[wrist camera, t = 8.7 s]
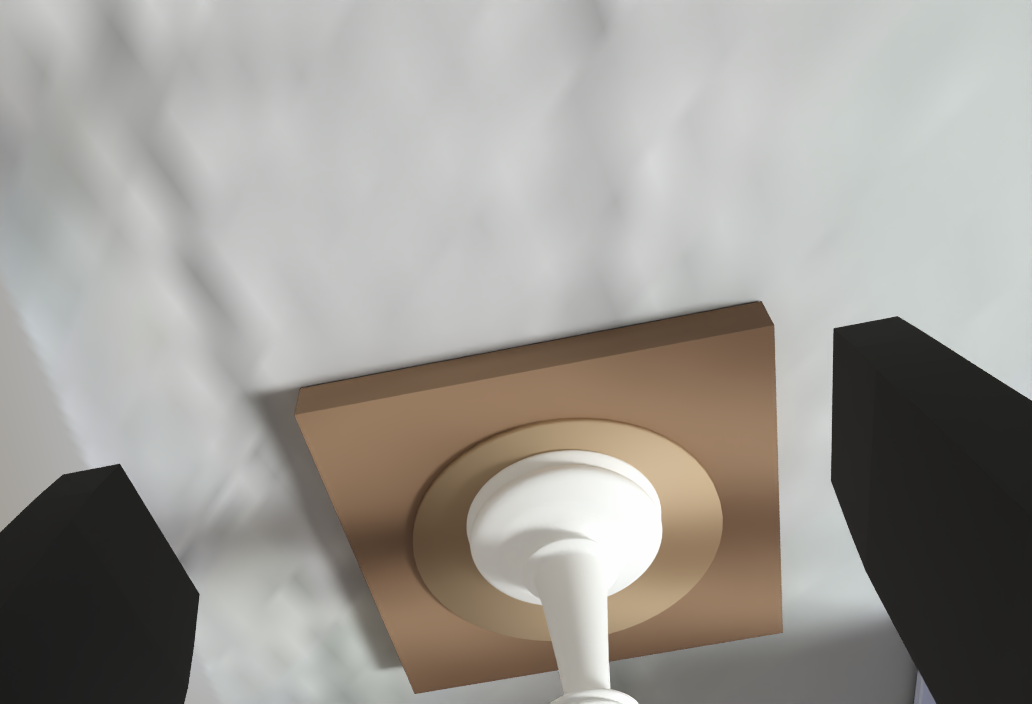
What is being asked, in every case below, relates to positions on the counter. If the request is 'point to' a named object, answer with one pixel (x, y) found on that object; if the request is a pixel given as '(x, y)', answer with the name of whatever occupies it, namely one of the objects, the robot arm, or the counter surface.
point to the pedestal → (555, 427)
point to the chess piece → (568, 552)
